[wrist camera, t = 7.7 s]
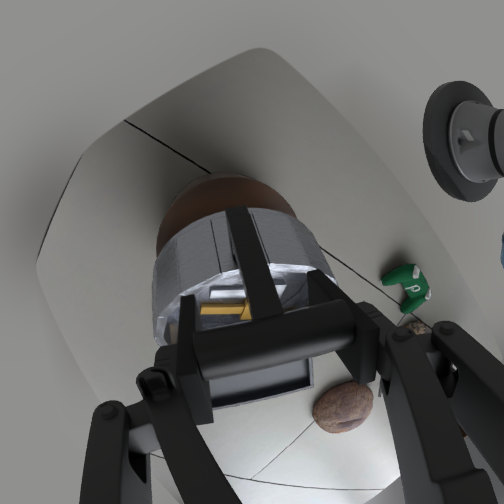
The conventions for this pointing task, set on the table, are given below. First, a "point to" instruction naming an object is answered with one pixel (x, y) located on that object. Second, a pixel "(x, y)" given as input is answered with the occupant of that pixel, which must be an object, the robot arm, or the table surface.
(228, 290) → the silver key
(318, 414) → the decorative stone
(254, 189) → the stand
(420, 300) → the gaming controller
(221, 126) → the table surface
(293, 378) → the tray
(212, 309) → the brass key
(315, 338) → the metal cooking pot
